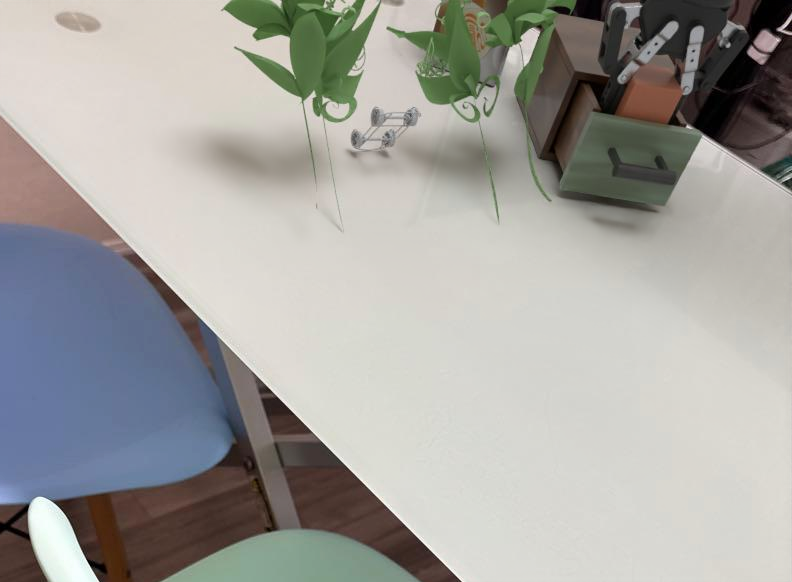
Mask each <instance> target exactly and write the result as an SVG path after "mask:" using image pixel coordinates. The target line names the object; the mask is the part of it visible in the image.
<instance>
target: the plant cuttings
mask: <svg viewBox="0 0 792 582" xmlns="http://www.w3.org/2000/svg"><path fill="white" fill-rule="evenodd" d="M280 1H281V2H280V6H279V5H278V4H277V3H275V2H274V1H273V0H229V1H228V2H227V3H226V4H225V5H224V6H223V7H222V9H220V12H224V11H225V12H227V13H228V14H230V15H231V16H232V17H234V18H235V19H236V20H238V21H239V22H241V23H242V24H244V25H247V26H249V27H252V28H255V29H256V30H255V31H254V32H253V33H252V37H253V39H255V42H259V41H262V40H265V39H270V38H274V37H278V36H284V37H287V38H288V39H289V59H290V65H291V69H292V72H293V73H292V72H291V71H290V70H289V69H288V68H287V67H284V65H282V64H280V63H278V62H276V61H274V60H273V59H271V58H267V57H265V56H262V55H259V54H256V53H254V52H250V51H247V50H245V49H241V48H240V47H238V46H234V47H233V48H234V50H237V51H238V52H241V53H242V54H243V55H244V56H245V58H247V59H248V60H249V61H250V62H251V64H253V65H254V66H255V67H256V68H257V69H258V70H260V71H261V72H262V73H263V74H264V75H265V76H266V77H267V78H269V79H270V80H271V81H272V82H273V83H275V84H276V85H278V87H280V88H281V89H283V90H284V91H286V92H287V93H289V94H292V95H294V96H295V97H299V98H300V99H301V101H300V103H299V105H300V104H302V109H303V110H302V111H303V115H304V116H303V117H304V121H305V127H306V132H307V133H306V134H307V139H308V145H309V150H310V156H311V162H312V168H313V174H314V180H315V181H314V182H317V176H316V167H315V159H314V153H313V147H312V143H311V136H310V131H309V126H308V120H307V115H306V109H305V103H304V102H305V101H306V100H307V99H308V98H309V97H310V96H311V95H312V94H313V93H314V94H315V97H313V98H311V100H312V110H313V113H314V114H315V116H316V117H318V118H320V117H322V120H323V127H324V133H325V140H326V145H327V149H328V150H327V151H328V158H329V162H330V171H331V175H332V181H333V187H334V188H336V185H335V179H334V174H333V167H332V162H331V156H330V155H331V154H330V148H329V142H328V136H327V130H326V122H325V120H326V121H328V122H330V123H343V122H345V121H347V120H348V119H350V118H351V117H352V116H353V114H354V113H355V111H356V110H357V107H358V101H357V99H356V97H355V95H356V92H357V90H358V87H359V83H360V81H361V78H362V76H363V74H364V72H365V70H364V69H362V68H363V67H364V65H365V63H366V47H365V44H366V41H367V39H368V37H369V34H370V32H371V30H372V27H373V25H374V23H375V20H376V18H377V15H378V12H379V9H380V7H381V4H382V0H380V1H379V2H378V4H377V5H376V6H375V7H374V9H373V10H372V12H370V14H368V16H367V17H365V19H364V20H363V21H362V22H361V23H360V24H359V25H358V26H357V27H356V28H354V26H355V25H356V23H357V21H358V19H359V17H360V15H361V13H362V9H363V8H364V4H365V2H366V0H355V1H354V2H353V4H352V5H347V6H345V7H343V8H342V11H341V12H339V11H335V10H333V9H334V8H335V3H336V1H337V0H280ZM340 1H341V3H343V4H346V1H345V0H340ZM441 1H442V2H441ZM445 1H446V0H440V2H439V4H437V6H436V8H435V10H434V17H435V19H438V20H439V21H441V23H442V25H444V29H445V35H444V34H441V33H438V32H433V30H418V31H409V32H406V31H405V30H400V29H396V28H393V27H391V26H386V28H385V29H386V30H387V31H389V32H391V33H393V34H394V35H395V36H396V37H397V38H398V39H406V40H407V41H408V42H410V43H411V44H412V45H414V46H416V47H418V48H419V49H421V50H422V51H424V52H425V53H424V56H423V59H422V61H419V62H417V63H416V67H417V68H418V69H419V72H418V71H417V70H414V72H415V76H416V78H417V80H418V82H419V85H420V89H421V90H422V92H423V94H424V97H425V98H426V99H427V100H428V102H429V103H430V104H434V105H439V106H443V105H445V106H446V105H450V106H451V107H452V108H453V110H454V111H455V112H456V113H457V115H458V116H459V117H461V118H462V119H463V120H464V121H466V122H468V123H473V124H474V123H477V122H478V125H479V129H480V134H481V135H480V136H481V140H482V145H483V150H484V155H485V160H486V165H487V171H488V176H489V180H490V187H491V192H492V197H493V201H494V208H495V212H496V217H497V222H498V224H500V214H499V206H498V200H497V194H496V189H495V184H494V179H493V175H492V169H491V165H490V161H489V156H488V152H487V147H486V144H485V139H484V134H483V130H482V127H481V123H480V119H481V112H480V110H479V108H478V107H477V106H476V103H474V104H473V103H471V102H469V101H463V103H462V109H464V110H467V109H468V108H469V105H470V106H471V107H472V109H473V112H474V116H473V117H472V118H468V117H466V116H465V115H464V114H463V113H462V112H461V111H460V110H459V109H458V108H457V107H456V104H455V103H457V102H460V101H462V100H465V99H467V98H469V97H473V98H474V99H473V102H476V100H478V98H479V97H480V94H481V93H482V91H483V89H484V88H485V86H486V85H487V84H486V83H487V82H488V81H489V80H491V79H493V80H495V82H496V84H495V86H496V92H495V97H494V100H493V102H492V105H491V106H490V108H489V109H488V110H486V104H487V102H489V99H487V96H486V97H485V96H484V97H483V99H484V102H483V106H482V111H483V114H484V116H485V117H486V118H489V117H490V116H491V115H492V113H493V111H494V108H495V106H496V103H497V100H498V96H499V92H500V88H501V80H500V79H501V78H500V77H498V76H497V75H490V76H489V77H487V78H486V79H485V81H484V82H483V83H482V82H481V85H480V87H479V88H478V85H479V82H480V81H479V78H480V72H481V66H480V59H479V55H478V53H477V50H476V49H475V47H474V45H473V43H472V39H471V35H470V31H469V28H468V25H467V22H466V20H465V17H464V14H463V13H464V12H463V9H464V6H465V4H466V3H468V4H470V3H471V2H472V0H470V1H469V0H463V5H462V6H461V5H460V1H459V0H449V3H448V6H447V10H446V14H445V16H444V17H443V18H442V19H440V18H438V17H437V15H438V14H437V10H439V8H440V5H441V4H442V3H443V2H445ZM468 1H469V2H468ZM325 4H326V7H324V6H325ZM576 5H577V0H509V1H508V3H507V9H506V10H505V12H504V14H503V13H501V14H499V15H498V16H496V17H495V18H494V19H493V20H492V21H491V23H490V24H489V22H490V15H489V14H488V13H486V12H485V11H484V12H480V13H478V14H477V17H478V18H477V26H478V27H479V28H481V29H483V28H486V29H485V32H484V33H487V34H492V35H491V36H490V37H489V38H488V39H487V41H486V42H485V45H487V46H489V47H492V48H495V47H497V46H500V45H506V46H507V47H510V48H513V46H517V45H518V46H519V48H520V52H521V60H522V69H521V71H520V72H519V74H518V76H517V78H516V80H515V83H514V87H513V93H514V95H515V96H517V97H519V98H520V99H522V100H525V108H526V122H525V126H526V142H527V144H526V145H527V154H528V155H527V156H528V161H529V166H530V171H531V175H532V178H533V181H534V183H535V186H536V187H537V188H538V190H539V192H540V193H541V195H542V196H543V197H544V199H546V200H547V202H549V203H552V201H553V200H552V199H551V198H550V196H548V194H547V193H546V192H545V190H544V188H543V186H542V184H541V183H540V181H539V178H538V176H537V173H536V170H535V166H534V163H533V157H532V151H531V144H530V133H529V130H528V120H527V106H528V104H529V102H530V99H531V97H532V95H533V92H534V90H535V87H536V84H537V81H538V78H539V75H540V74H541V73H542V71H543V62H544V59H545V56H546V53H547V49H548V46H549V42H550V38H551V35H552V31H553V29H554V28H555V26H556V25H557V23H558V21H556V22H555V23H553V24H552V25H551V26H549V27H548V25H549V23H550V24H551V23H552V21H553V20H554V19H555V18H556V17H557V16H558V14H559V12H557V11H554V10H552V9H549V8H552V7H565V8H567V9H569V10H570V12H569V14H568V15H569V16H571V14H572V13H573V11H574V9H575V7H576ZM484 15H487V16H486V18H488V22H487V24H486V25H485V26H483V27H482V26H480V25H479V23H478V21H479V18H480V17H482V16H484ZM444 18H445V20H443V19H444ZM443 22H444V23H443ZM540 25H541V28H542V27H543V28H544V29H545V31H544V32H543V33H542V35H541V36H540V38H539V40H538V42H537V41H536V42H537V44H536V43H535V44H536V47H535V46H534V47H535V50H534V49H533V50H534V53H533V56H532V60H531V61H528V62H527V63H526V64H525V63H524V55H523V49H522V45H521V43H522V42H523V39H522V38H521V37H522V36H524V35H525V34H526V33H527V32H528V31H529V30H531V29H533V28H536V27H538V26H540ZM353 28H354V30H353ZM362 51H363V53H362ZM361 53H362V55H361ZM429 53H430V55H429V59H428V54H429ZM431 54H432V56H431ZM360 55H361V56H360ZM426 55H427V56H426ZM430 56H431V58H430ZM433 56H434V57H435V58H436V59H437V60H436V61H437V63H438V65H437V63H436V62H435V60H434V59H433ZM359 57H360V58H359ZM425 57H426V61H425ZM437 57H438V58H440V59H442V60H443V61H442V62H440V59H438V58H437ZM362 58H363V63H362V65H361V66H360V67H358V65H357V64H356V62H358V61H360V60H361V59H362ZM431 59H433V61H434V63H435V64H436V66H437V67H436V70H434V66H433V64H430V65H429V64H428V63H427V60H428V61H429V62H430V61H431ZM424 61H425V62H424ZM444 62H446V63H445V64H444ZM441 63H442V65H441ZM443 64H444V66H443ZM447 65H449V71H448V72H449V73H448V75H444V74H445V73H446V71H447V70H446V68H447ZM440 66H441V68H439V67H440ZM354 67H355V68H356V69H354ZM444 68H445V69H444ZM361 69H362V70H361ZM360 70H361V72H360V73H358V74H356V75H349V73H350V72H351V71H353V72H357V71H358V72H359V71H360ZM423 75H424V76H423ZM477 88H478V91H477ZM517 97H516V98H517ZM323 99H328V100H327V101H325V102H324V103H323ZM330 102H333V103H336V104H337V106H338V107H337V108H339V107H340V105H347V104H348V106H349V107H348V108H349V109H348V112H347V114H346V115H345V116H344V117H341V118H338V117H337V118H336V117H334V116H332V115H330V114H329V113H328V111H327V105H328V104H329V103H330ZM465 103H468V104H467V106H465ZM332 106H333V107H335V105H334V104H332ZM393 114H403V115H393ZM421 116H422V113H421V112H420V111H419V109H418V108H417V106H413V107H411V108H408V109H406V111H390V112H384V110H383V109H382V108H380V107H379V106H374V107H373V108H372V110H371V113H370V124H371V126H370V127H369V128H368V129H367V130H366V132H365V133H364V134H363V132H362V131H361V130H358V129H357V128H354V129H353V130H352V131H351V133H350V144H351V146H352V148H354V149H355V150H358V151H365V152H366V151H367V152H369V151H378V150H383V149H386V148H393V147H394V146H395V144H396V140H397V139H398V138H400V137H401V135H402V134H404V133H405V131H407V129H408V128H410V127H415V126H416V125H417V123H418V120H419V118H420V117H421ZM387 120H402V121H403V124H384V123H385V122H387ZM373 127H375V129H374V131H372V133H370V135H369V136H368V137H366V135H367V134H368V133H369V132H370V131H371V130H372V129H373ZM381 127H399V128H398V129H397V130H396V131H395V130H394V129H393V128H391V129H389V130H386V131H385V132H384V134H383V135H382V136H381V137H372V136H373V135H374V134H375V133H376V132H377V131H378V130H379V129H380V128H381ZM403 127H405V128H404V129H403V130H402V132H400V133H399V134H398V135H397V136H396V134H397V133H398V132H399V131H400V130H401V129H402V128H403ZM366 142H381V145H380V147H377V148H370V149H369V148H368V149H366V148H365V149H364V148H361V147H362V146H363V145H364V144H365V143H366ZM315 187H316V190H315V191H318V186H317V184H315ZM334 193H335V198H336V202H337V203H336V204H337V209H338V213H339V218H340V222H341V223H343V220H342V216H341V212H340V211H341V210H340V206H339V201H338V196H337V191H336V189H334ZM315 206H316V207H315V208H316V210H317V209H318V204H316V205H315ZM341 226H342V230H343V231H345V229H344V225H343V224H341Z"/></svg>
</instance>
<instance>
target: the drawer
mask: <svg viewBox="0 0 792 582" xmlns="http://www.w3.org/2000/svg"><path fill="white" fill-rule="evenodd" d="M606 85H607V84H602V83H597V82H591V81H586V80H580V79H579V80H578V83H577V85H576V87H575V90H574V92H573V95H572V97H571V99H570V102H569V104H568V107H567V109H566V111H565V114H564V116H563V118H562V121H561V123H560V126H559V128H558V130H557V133H556V135H555V138H554V140H553V142H552V145H553V147H554V150H555V152H556V155H557V158H558V160H559V162H558V163H559V165H560V168H561V171H562V173H563V174H562V176H561V178H560V181H559V187H560V190H562V191H568V192H575V193H579V194H586V195H592V196H598V197H603V198H611V199H617V200H622V201H629V202H633V203H641V204H647V205H654V206H660V207H665V206H666V205H667V203H668V201H669V199H670V197H671V195H672V193H673V191H674V190H675V188H676V186H677V184H678V183H679V181H680V178H681V177H682V175H683V173H684V172H685V169H686V168H687V166H688V164H689V162H690V160H691V158H692V157H693V155H694V153H695V151H696V149H697V147H698V146H699V143H700V142H701V140H702V138H703V134H702V132H701V130H700V129H696V128H695V129H694V128H688V127H687V126H688V123H687V121H686V119H685V117H684V115H683V114H682V112H681V110H680V111H679V110H678V112H677V114H676V116H675V118H674V120H673V121H672V122H671V123H670V124H661V123H655V122H650V121H644V120H638V119H632V118H627V117H621V116H615V115H609V114H604V113H601V108H600V106H599V100H600V98H601V96H602V94H603V92H604V89H605V87H606Z"/></svg>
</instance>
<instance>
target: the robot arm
mask: <svg viewBox="0 0 792 582" xmlns="http://www.w3.org/2000/svg"><path fill="white" fill-rule="evenodd" d="M735 1H736V0H639V1H638V2H637V1H636V2H624V3H621V1H620V0H610V1H609V2H608V3H607V6H606V12H605V18H604V21H603V22H604V27H603V33H602V38H601V43H600V49H599V54H598V62H599V64H600V66H601V68H602V70H603V72H604V73H605V74H607V75H610V78H609V80H608V82H607V85H606V87H605V89H604V92H603V94H602V96H601V98H600V100H599V106H600V108H601V113H604V114H609V115H614V114H615V112H616V110H617V108H618V106H619V104H620V101H621V99H622V97H623V95H624V93H625V90H626V88H627V84H626V83H627V82H628V81H629V80H630V79H631V78H632V77H633V75H634V74H635V73H636V72H637V71H638V70H639V68H640V67H641V66H645V65H646V64H647V63H648V62H649V61H650V59H651V58H652V57H653V56H654V55H668V56H669V57H672V58H673V59H674V66H675V70H674V76H675V78H676V80H677V81H678V83H679V85H680V86H681V88H682V90H683V94H682V96H681V98H680V100H679V102H678V104H677V106H676V108H675V110H674V112H673V114H672V116H671V118H670V120H669V122H668V124H670V123H671V122H672V121H673V120H674V118H675V116H676V114H677V112H678V110H679V108H680V107H681V105H682V103H683V101H684V99H685V97H686V95H687V94H689V95H690V93H691V92H695V91H696V92H697V91H701V92H702V93H706V92H708V91H710V90H711V89H712V88H713V86H714V85H716V83H717V82H718V81H719V79H720V78H721V77H722V76H723V74H724V73H725V72H726V70H727V69H728V68H729V66H730V65H732V62H733V61H734V60H735V59H736V58H737V56H738V55H739V53H740V52H741V51H742V50H743V49H744V47H745V46H746V45H747V44H748V42H749V41H750V34H749V33H748V31H747V30H746V28H745V27H744V26H743V25H742V24H741V22H738V21H735V22H732V21H730V20H729V11H730V8H731V6H732V5H733V4H734V3H735ZM635 18H637V20H638V25H639V28H638V29H639V31H638V32H637V33H636V34H635V35H634V37H633V38H632V39H631V40H630V41H629V43H628V45H627V48H626V50H625V51H624V52H623V53H622V55H621V56H620V57H619V58H618V56H619V51H620V46H621V41H622V36H623V31H624V30H626V29H628V28H629V27H631V25H632V22H633V21H634V19H635ZM716 36H717V38H716V43H715V45H714V46H713V47H712V49H711V50H710V51H709V53H708V54H707V55H706V57H705V58H704V59H703V60H702V62H701V63H700V65H699V61H700V55H701V49H702V47H703V46H704V45H706V44H707V43H708V42H709V41H711V40H712V39H714V38H715V37H716ZM644 44H645V45H644ZM643 46H644V47H643Z"/></svg>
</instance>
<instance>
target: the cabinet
mask: <svg viewBox="0 0 792 582" xmlns="http://www.w3.org/2000/svg"><path fill="white" fill-rule="evenodd" d="M556 21H558V23H557V25H556V26H555V28H554V29H553V31H552V35H551V38H550V42H549V46H548V49H547V53H546V56H545V59H544V62H543V71H542V73H541V74H540V75H539V78H538V81H537V84H536V87H535V90H534V92H533V95H532V97H531V99H530V102H529V104H528V106H527V120H528V133H529V136H530V138H531V141H532V143H533V146H534V149H535V152H536V154H537V155H536V156H537V157H538V159H541V160H545V161H553V162H558V163H559V160H558V158H557V155H556V152H555V150H554V147H553V145H552V142H553V140H554V138H555V135H556V133H557V130H558V128H559V126H560V123H561V121H562V118H563V116H564V114H565V111H566V109H567V107H568V104H569V102H570V99H571V97H572V95H573V92H574V90H575V87H576V85H577V83H578V80H579V79H580V80H586V81H591V82H597V83H602V84H607V82H608V80H609V78H610V75H607V74H605V73H604V72H603V70H602V68H601V66H600V64H599V62H598V54H599V49H600V43H601V38H602V33H603V27H604V22H605V21H600V20H595V19H590V18H584V17H579V16H574V15H569V14H563V13H558V16H557V17H556V18H555V19H554V20H553V21H552V23H551V24H550V23H549V25H548V27H549V26H551V25H552V24H553V23H555V22H556ZM639 29H640V28H637V27H632V26H630V27H629V28H628V29H626V30H624V31H623V36H622V41H621V46H620V51H619V56H618V58H619V57H620V56H621V55H622V53H623V52H624V51H625V50H626V48H627V45H628V43H629V41H630V40H631V39H632V38H633V37H634V35H635V34H636V33H637V32H638V31H639ZM544 31H545V29H544V28H543V27H542V26H541V28H540V31H539V34H538V37H537V38H536V42H535V45H534V48H533V51H532V52H531V56H530V58H529V61H531V60H532V56H533V53H534V50H535V47H536V44H537V42H538V40H539V38H540V36H541V35H542V33H543V32H544ZM644 45H645V44H644ZM643 47H644V46H643ZM529 61H528V62H529ZM647 65H652V66H658V67H663V68H669V69H670V70H671V71H672V73H673V75H674V70H675V63H674V62H673V61H672V59H671V56H670V55H654V56H653V57H652V58H651V59H650V61H649V62H648V63H647ZM689 95H690V93H689V94H687V95H686V97H685V99H684V101H683V103H682V105H681V107H680V108H679V111H680V112H681V111H682V108H683V107H684V104H685V102H686V101H687V98H688V96H689ZM515 96H516V95H515ZM516 99H517V102H518V105H519V107H520V110H521V113H522V116H523V118H524V121H525V123H526V108H525V100H522V99H520V98H519V97H517V96H516Z"/></svg>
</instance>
